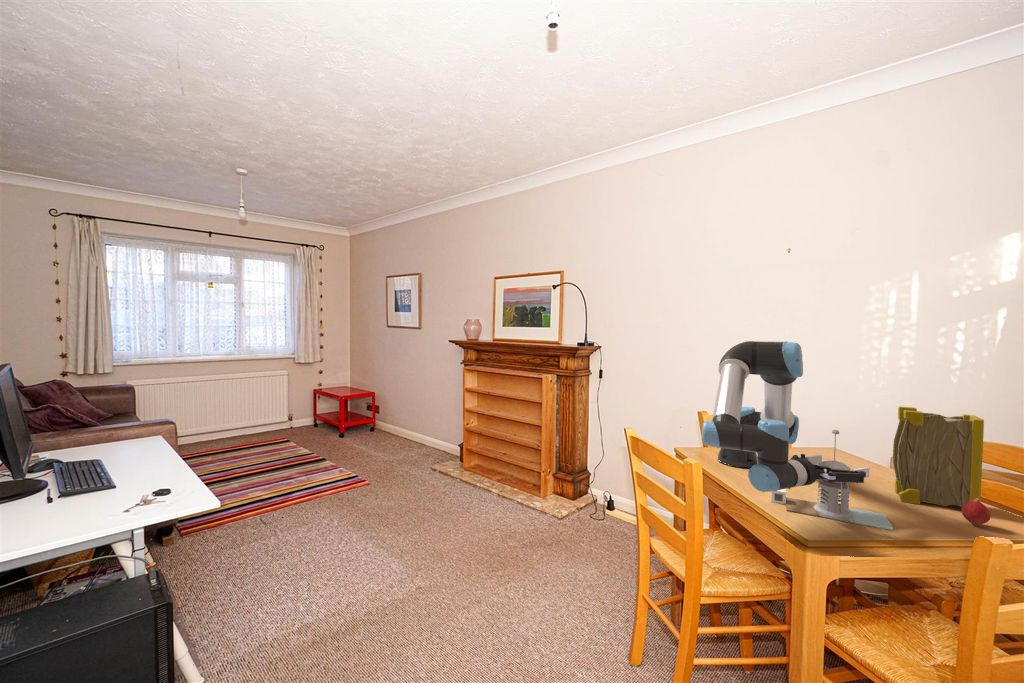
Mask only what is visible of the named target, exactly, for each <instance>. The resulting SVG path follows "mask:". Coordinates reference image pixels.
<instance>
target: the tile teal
mask: <svg viewBox="0 0 1024 683" xmlns="http://www.w3.org/2000/svg"><path fill="white" fill-rule="evenodd" d="M849 509H850V511H851V513H852V514H853V515H852V516H853V518H854V520H855V523H854V524H856V525H861V526H867V527H872V528H876V529H883V530H887V531H894V528H893V526H892V525H891V523H890V521H889V520H888V518H887V517H886V515H885V514H884V513H881V512H873V511H868V510H862V509H858V508H857V509H856V508H850V507H849Z"/></svg>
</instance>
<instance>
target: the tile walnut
mask: <svg viewBox="0 0 1024 683" xmlns="http://www.w3.org/2000/svg"><path fill="white" fill-rule="evenodd" d="M816 502H817V501H816ZM816 502H815V501H811V500H804V499H799V498H792V497H788V496H786V505H785V509H786V512H790V513H797V514H802V515H807V516H810V517H811V516H813V517H817V518H821V517H820V514H819V511H817V510H815V509H814V506H815V505H816Z"/></svg>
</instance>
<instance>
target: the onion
mask: <svg viewBox="0 0 1024 683" xmlns="http://www.w3.org/2000/svg"><path fill="white" fill-rule="evenodd" d="M961 514H962V516H963V518H965V520H966V521H968V522H969V523H970V524H972V525H973V526H975V527H980V526H981V525H983V524H986V523H988V522H989V521H990V520H991V517H992V516H991V511H990V510H989V508H988V507H987V506H986V505H985V504H983V502H981V499H980V500H979V499H978V498H976V499H974V500H972V501H969V502H967V503H965V504H964V505H963V506H962V507H961Z"/></svg>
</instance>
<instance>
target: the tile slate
mask: <svg viewBox="0 0 1024 683" xmlns="http://www.w3.org/2000/svg"><path fill="white" fill-rule="evenodd" d="M816 504H818V501H816ZM849 511H850V509H849ZM850 512H851V511H850ZM819 514H820V517H819V518H823V519H828V520H832V521H833V520H834V521H839V522H845V523H850V524H855V520H854V518H853V516H852V517H836V516H831V515H827V514H824V513H821V512H819Z"/></svg>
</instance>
